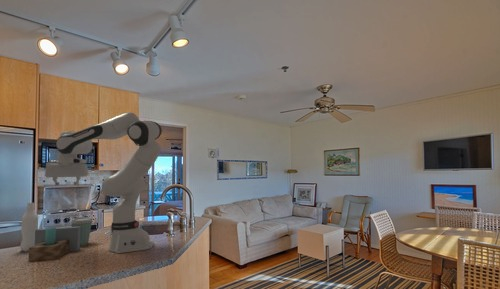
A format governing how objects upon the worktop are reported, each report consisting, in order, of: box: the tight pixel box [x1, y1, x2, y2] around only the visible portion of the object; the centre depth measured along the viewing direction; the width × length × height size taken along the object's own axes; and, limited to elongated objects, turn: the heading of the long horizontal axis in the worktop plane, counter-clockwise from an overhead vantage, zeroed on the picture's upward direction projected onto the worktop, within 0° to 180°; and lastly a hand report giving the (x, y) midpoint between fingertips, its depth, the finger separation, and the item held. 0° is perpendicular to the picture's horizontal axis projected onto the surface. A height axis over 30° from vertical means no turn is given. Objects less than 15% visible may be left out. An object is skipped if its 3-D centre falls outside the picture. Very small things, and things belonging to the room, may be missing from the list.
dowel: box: [45, 226, 57, 245], centre depth 133 cm, size 4×4×12 cm
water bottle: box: [19, 202, 39, 252], centre depth 145 cm, size 7×7×25 cm
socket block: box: [27, 240, 70, 262], centre depth 133 cm, size 12×12×6 cm
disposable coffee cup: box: [70, 216, 93, 247], centre depth 153 cm, size 11×11×15 cm
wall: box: [35, 226, 81, 252], centre depth 141 cm, size 20×3×12 cm, turn 102°
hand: (66, 185), depth 148 cm, fingers open, 8 cm apart
